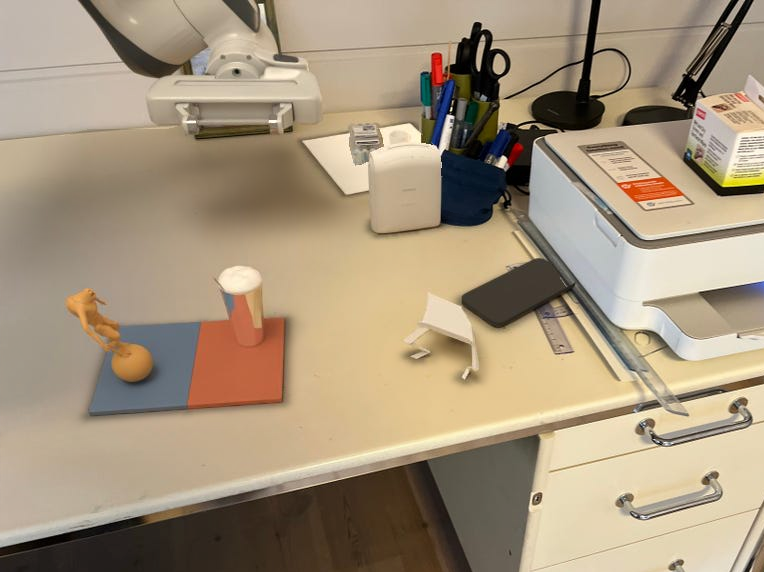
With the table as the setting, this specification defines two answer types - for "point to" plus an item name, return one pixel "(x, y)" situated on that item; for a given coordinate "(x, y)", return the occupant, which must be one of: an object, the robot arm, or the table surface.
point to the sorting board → (194, 369)
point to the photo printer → (404, 187)
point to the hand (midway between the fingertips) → (233, 128)
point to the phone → (515, 292)
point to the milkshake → (243, 303)
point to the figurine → (110, 337)
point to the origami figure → (445, 327)
